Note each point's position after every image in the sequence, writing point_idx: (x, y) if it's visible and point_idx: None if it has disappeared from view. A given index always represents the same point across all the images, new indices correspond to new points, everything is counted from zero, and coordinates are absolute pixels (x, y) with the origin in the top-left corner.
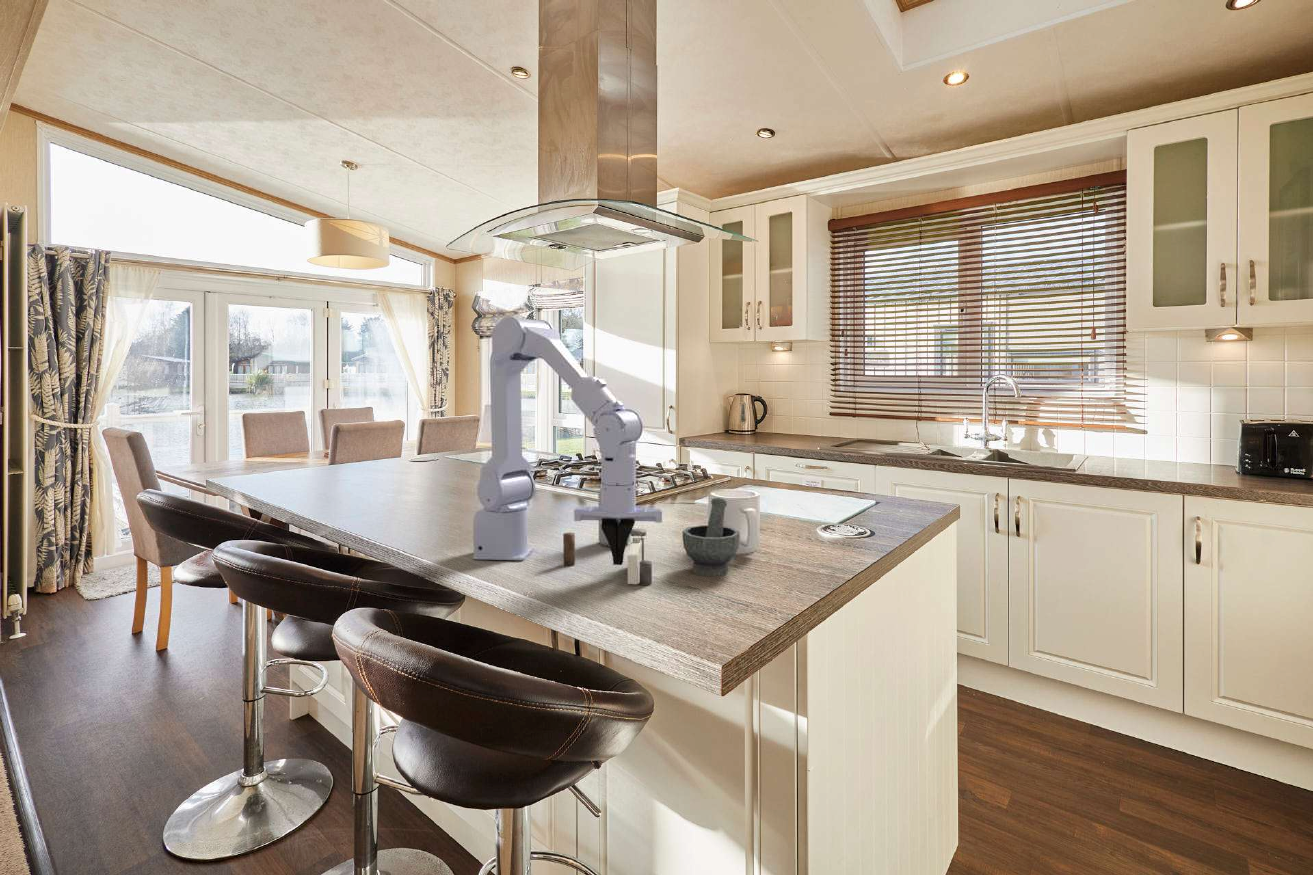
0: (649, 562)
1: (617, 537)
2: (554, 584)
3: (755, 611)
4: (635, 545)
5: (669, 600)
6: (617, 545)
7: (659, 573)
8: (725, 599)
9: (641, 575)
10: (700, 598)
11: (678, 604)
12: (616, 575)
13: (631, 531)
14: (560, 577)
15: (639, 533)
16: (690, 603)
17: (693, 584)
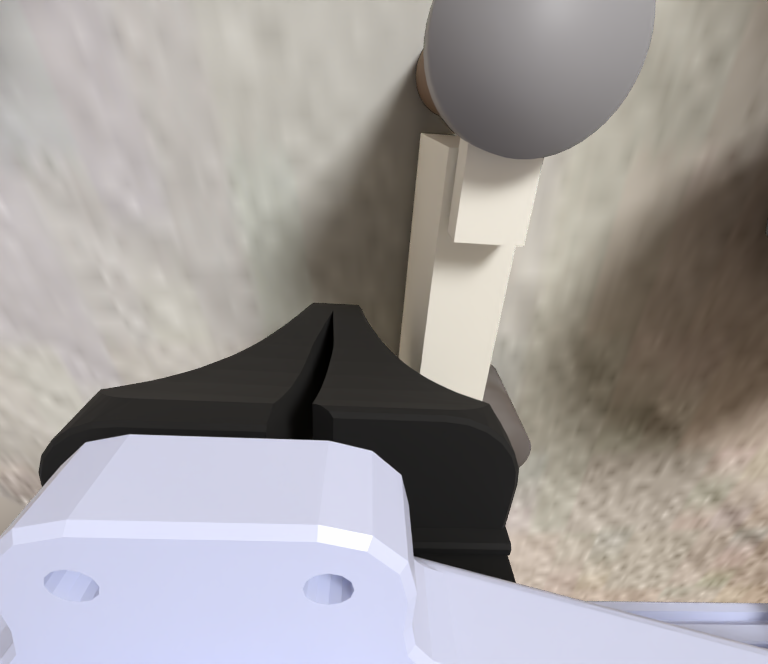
0: (516, 452)
1: (307, 429)
2: (66, 401)
3: (760, 579)
4: (458, 332)
5: (535, 525)
6: (316, 392)
7: (563, 239)
8: (723, 514)
9: None
10: (644, 509)
11: (556, 548)
12: (328, 276)
13: (442, 105)
14: (42, 311)
15: (535, 155)
16: (596, 542)
17: (677, 389)
